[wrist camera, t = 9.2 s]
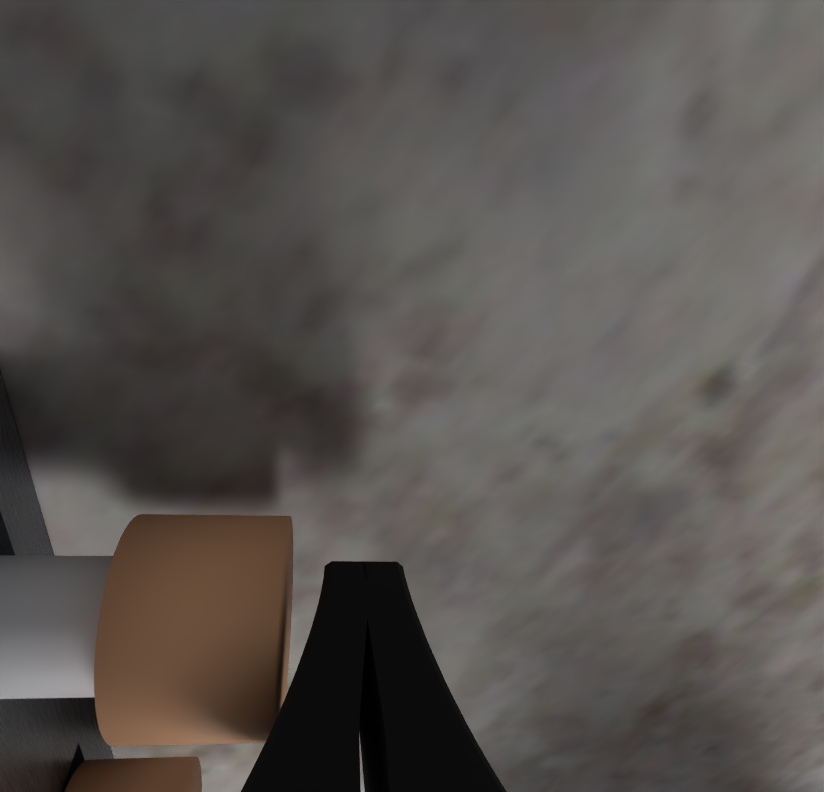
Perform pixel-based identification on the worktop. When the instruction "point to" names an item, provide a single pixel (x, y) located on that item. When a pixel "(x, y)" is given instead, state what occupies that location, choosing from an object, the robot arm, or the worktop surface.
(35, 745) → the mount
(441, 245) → the worktop surface
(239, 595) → the knob
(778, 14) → the worktop surface
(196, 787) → the knob
